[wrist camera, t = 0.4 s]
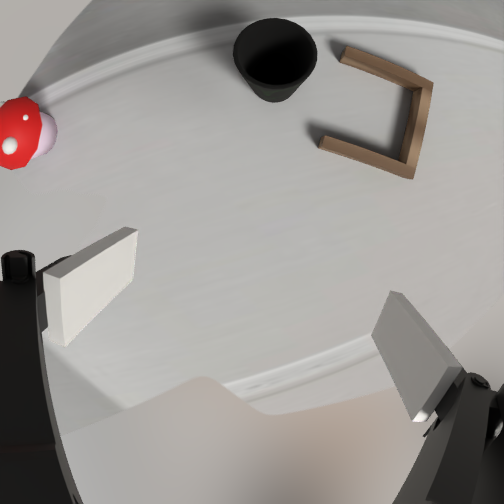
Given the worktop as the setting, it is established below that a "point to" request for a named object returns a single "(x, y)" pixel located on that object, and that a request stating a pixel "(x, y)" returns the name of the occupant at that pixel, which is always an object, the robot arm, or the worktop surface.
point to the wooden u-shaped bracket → (414, 124)
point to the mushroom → (24, 132)
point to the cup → (275, 57)
